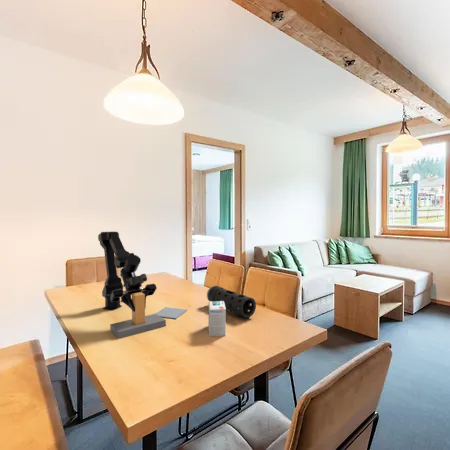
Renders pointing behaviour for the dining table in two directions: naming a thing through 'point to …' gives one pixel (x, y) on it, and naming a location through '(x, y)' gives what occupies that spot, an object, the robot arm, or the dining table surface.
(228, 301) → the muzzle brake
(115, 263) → the robot arm
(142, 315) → the plug
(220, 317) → the light bulb box
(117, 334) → the grey square-hole plate
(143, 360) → the dining table surface
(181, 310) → the mat
